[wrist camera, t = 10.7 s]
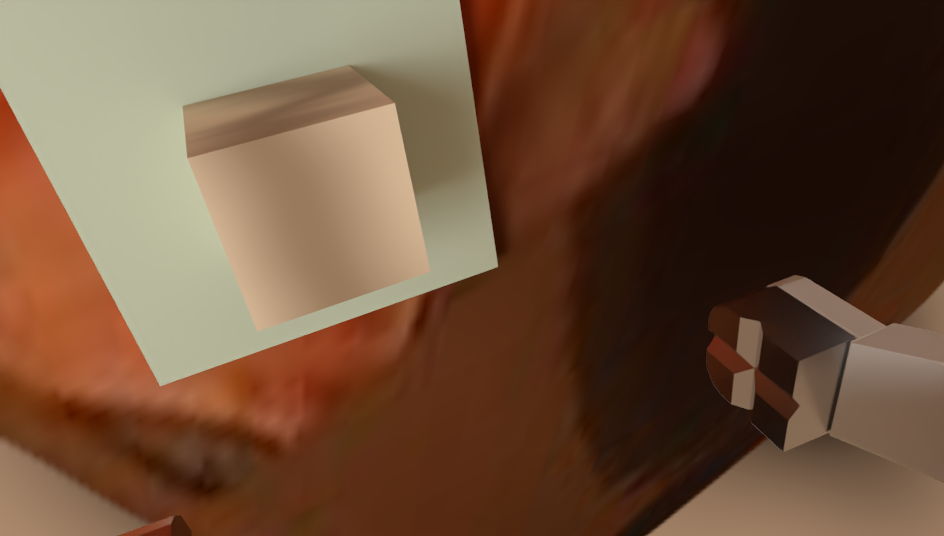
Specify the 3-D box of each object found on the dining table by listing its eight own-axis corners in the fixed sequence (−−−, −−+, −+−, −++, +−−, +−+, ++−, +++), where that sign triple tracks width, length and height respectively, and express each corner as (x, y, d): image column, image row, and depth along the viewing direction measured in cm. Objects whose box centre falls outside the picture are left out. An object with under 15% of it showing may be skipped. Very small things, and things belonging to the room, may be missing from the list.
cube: (348, 65, 20) (394, 103, 16) (382, 208, 23) (430, 271, 19) (182, 105, 19) (187, 158, 15) (239, 252, 21) (256, 331, 17)
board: (434, -105, 20) (444, -106, 19) (490, 258, 26) (498, 266, 26) (-46, -18, 16) (-55, -16, 15) (160, 372, 23) (160, 386, 22)
